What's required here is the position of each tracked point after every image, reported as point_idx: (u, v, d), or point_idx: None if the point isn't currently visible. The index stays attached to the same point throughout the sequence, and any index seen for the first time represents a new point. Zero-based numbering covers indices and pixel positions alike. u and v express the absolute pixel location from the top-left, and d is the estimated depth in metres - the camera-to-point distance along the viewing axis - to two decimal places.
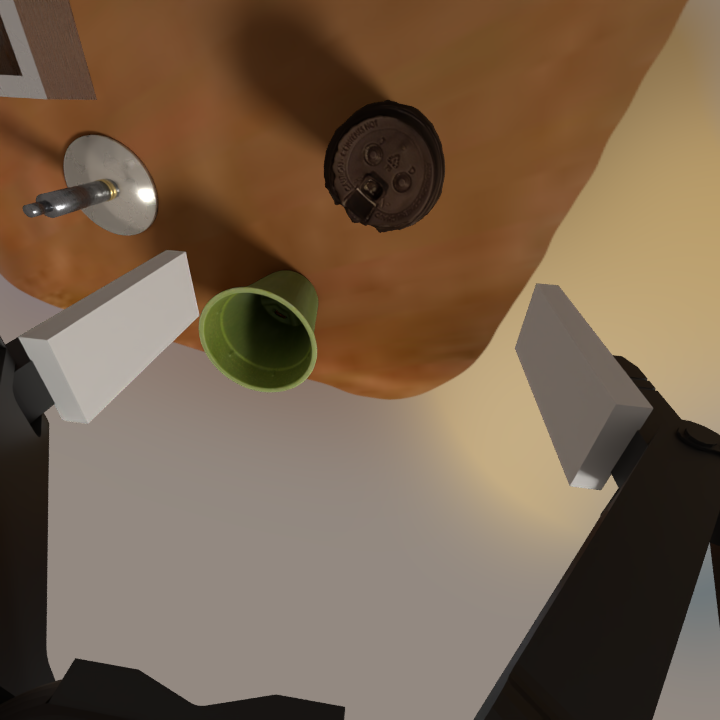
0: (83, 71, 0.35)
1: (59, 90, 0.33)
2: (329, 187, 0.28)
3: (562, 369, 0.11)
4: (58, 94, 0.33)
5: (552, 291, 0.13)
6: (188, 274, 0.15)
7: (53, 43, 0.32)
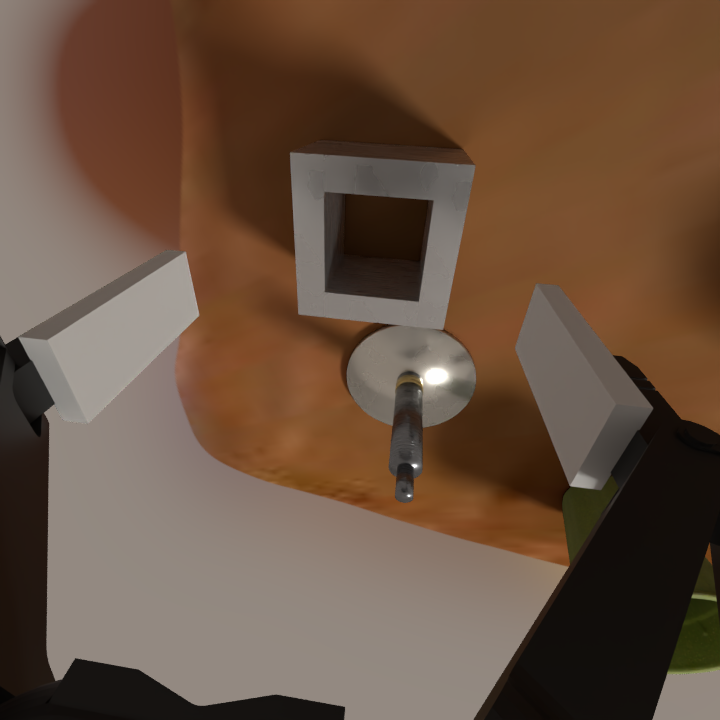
0: None
1: None
2: None
3: (562, 369, 0.11)
4: None
5: (552, 291, 0.13)
6: (188, 274, 0.15)
7: None
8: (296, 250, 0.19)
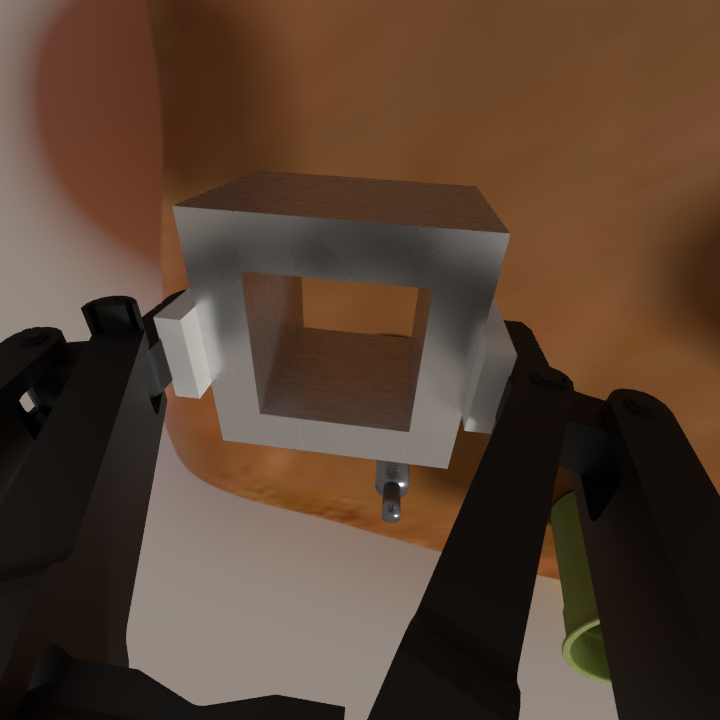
0: None
1: None
2: None
3: None
4: None
5: None
6: None
7: None
8: (207, 356, 0.12)
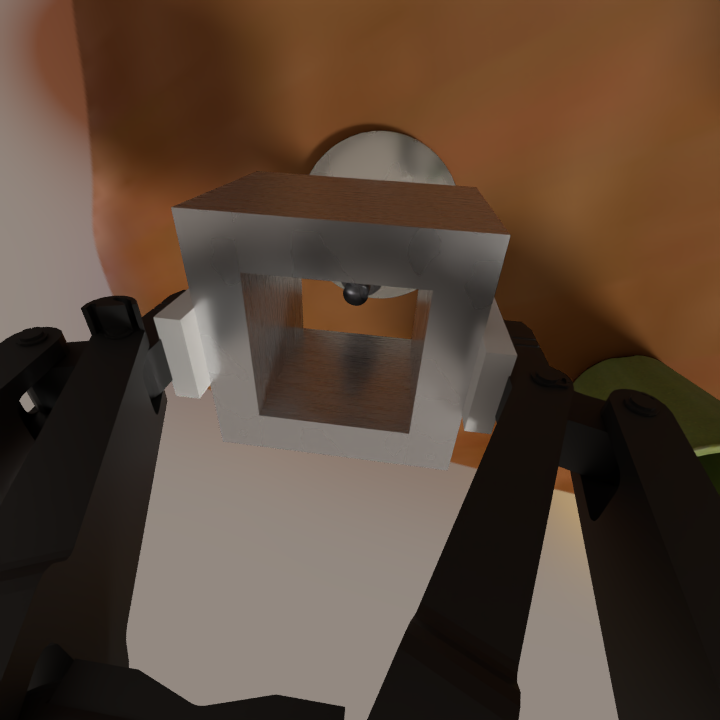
0: None
1: None
2: None
3: None
4: None
5: None
6: None
7: None
8: (206, 357, 0.12)
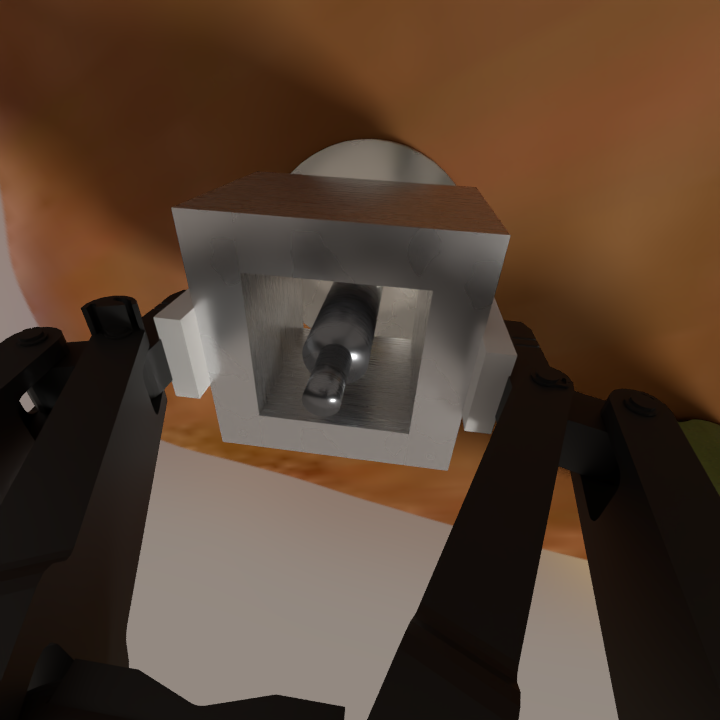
0: None
1: None
2: None
3: None
4: None
5: None
6: None
7: None
8: (206, 357, 0.12)
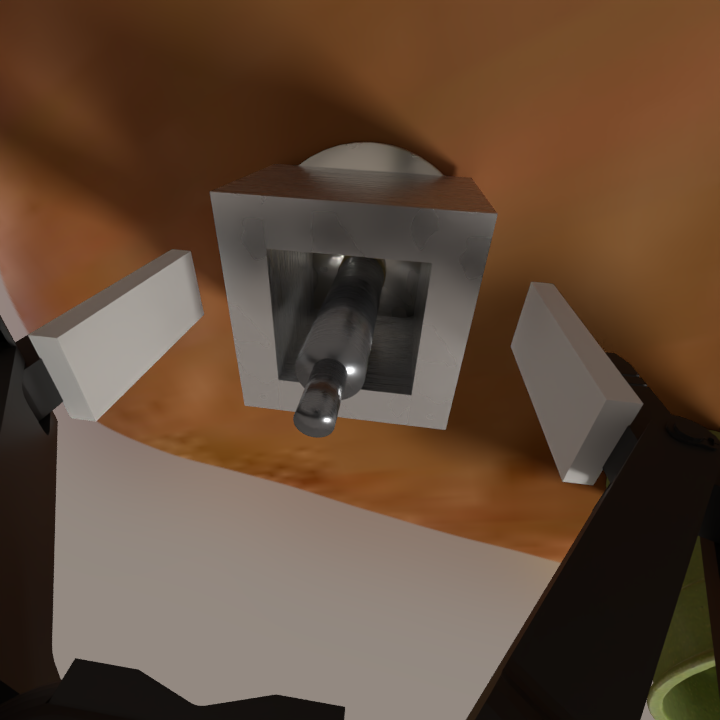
0: None
1: None
2: None
3: (555, 366, 0.11)
4: None
5: (547, 289, 0.13)
6: (193, 273, 0.15)
7: None
8: (233, 326, 0.13)
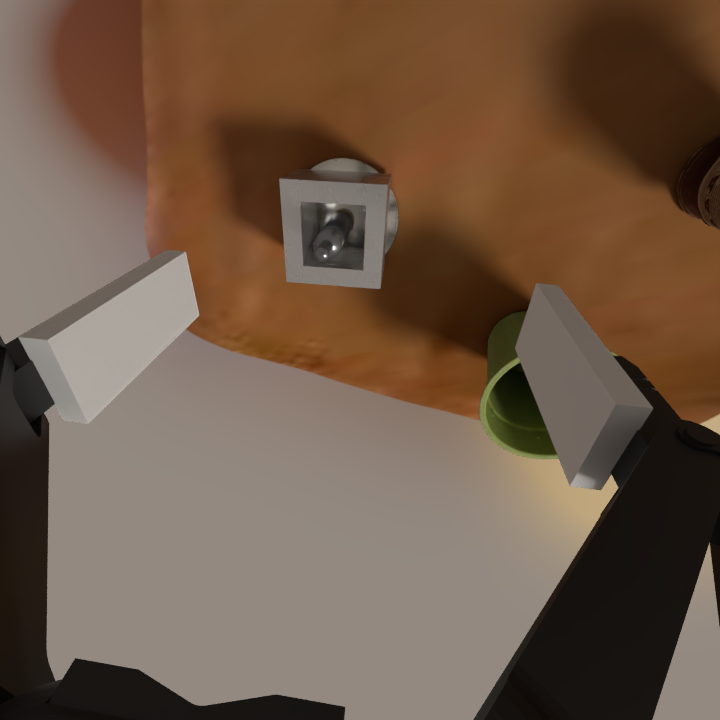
0: None
1: (382, 274, 0.33)
2: None
3: (562, 369, 0.11)
4: (381, 279, 0.33)
5: (552, 291, 0.13)
6: (188, 274, 0.15)
7: (385, 233, 0.32)
8: (284, 238, 0.30)
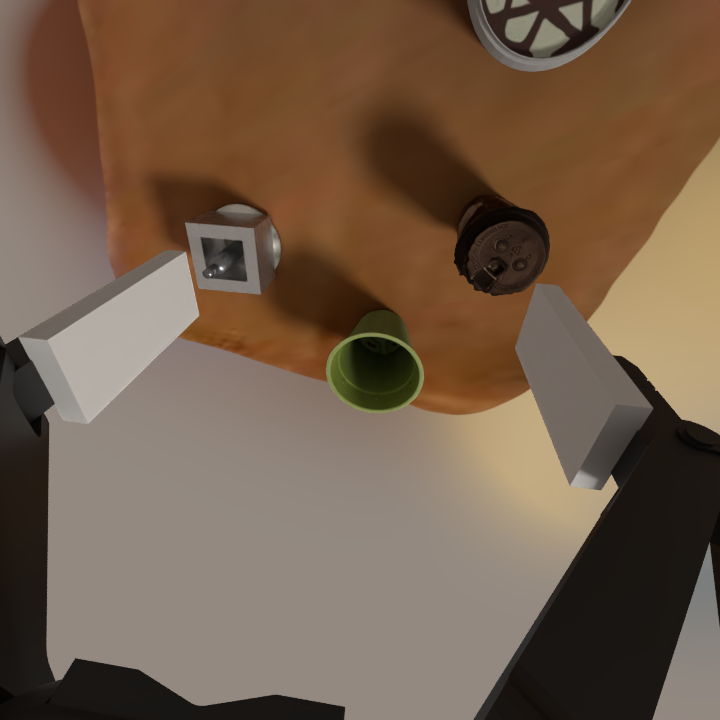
0: (272, 262, 0.50)
1: (264, 284, 0.48)
2: (458, 264, 0.36)
3: (562, 369, 0.11)
4: (264, 287, 0.48)
5: (552, 291, 0.13)
6: (188, 274, 0.15)
7: (265, 256, 0.47)
8: (193, 260, 0.45)
